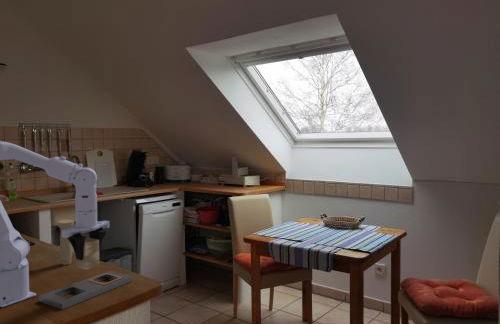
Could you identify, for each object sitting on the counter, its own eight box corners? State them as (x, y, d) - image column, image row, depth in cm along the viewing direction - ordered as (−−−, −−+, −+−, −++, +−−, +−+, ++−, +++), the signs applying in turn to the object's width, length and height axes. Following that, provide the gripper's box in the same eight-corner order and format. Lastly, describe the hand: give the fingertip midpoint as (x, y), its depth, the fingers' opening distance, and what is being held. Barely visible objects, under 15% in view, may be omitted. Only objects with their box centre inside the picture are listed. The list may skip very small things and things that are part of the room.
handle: (71, 260, 145) (70, 218, 144) (76, 264, 140) (75, 222, 139) (56, 262, 142) (55, 220, 141) (61, 267, 137) (60, 223, 136)
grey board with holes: (62, 309, 104) (62, 303, 104) (38, 301, 109) (38, 295, 109) (132, 281, 125) (132, 275, 125) (110, 275, 130) (109, 270, 130)
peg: (86, 269, 113) (85, 243, 112) (75, 266, 115) (75, 241, 115) (99, 265, 117) (98, 239, 116) (89, 262, 119) (88, 237, 119)
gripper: (72, 215, 107) (74, 266, 108) (116, 207, 119) (117, 252, 120) (56, 213, 110) (57, 262, 111) (100, 205, 123) (101, 249, 124)
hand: (87, 257), depth 116 cm, fingers closed on peg, 4 cm apart
